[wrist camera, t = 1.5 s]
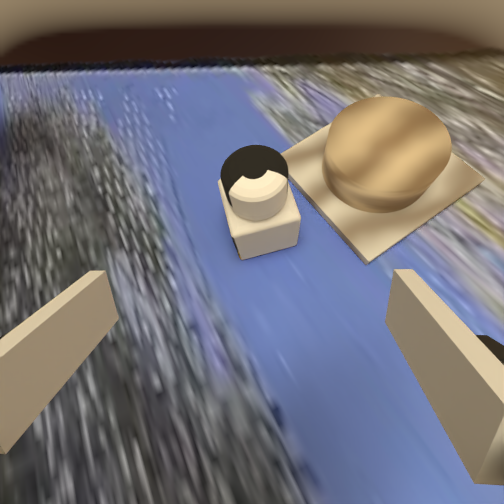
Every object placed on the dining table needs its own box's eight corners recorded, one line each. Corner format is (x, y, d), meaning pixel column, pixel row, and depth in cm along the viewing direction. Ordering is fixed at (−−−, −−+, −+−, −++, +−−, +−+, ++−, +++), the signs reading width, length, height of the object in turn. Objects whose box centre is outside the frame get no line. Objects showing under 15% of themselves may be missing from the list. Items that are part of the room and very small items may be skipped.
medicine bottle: (227, 211, 37) (205, 146, 26) (280, 197, 37) (281, 126, 26) (240, 261, 34) (222, 212, 23) (297, 246, 34) (306, 190, 23)
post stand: (274, 163, 39) (274, 130, 33) (375, 101, 41) (391, 60, 36) (365, 265, 33) (383, 245, 27) (478, 184, 35) (516, 151, 30)
